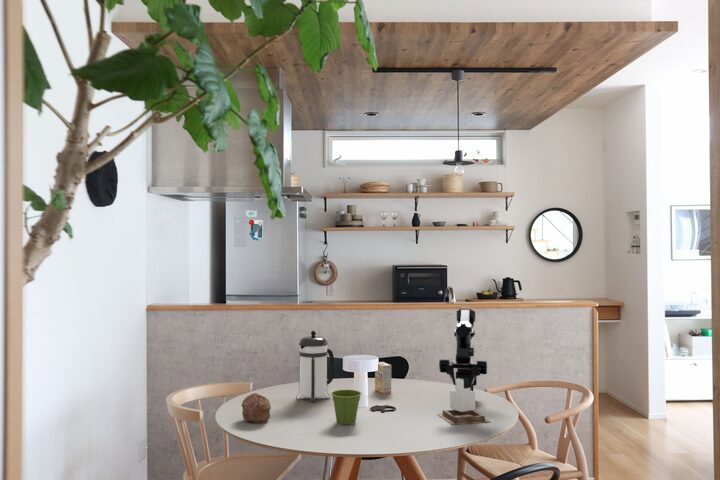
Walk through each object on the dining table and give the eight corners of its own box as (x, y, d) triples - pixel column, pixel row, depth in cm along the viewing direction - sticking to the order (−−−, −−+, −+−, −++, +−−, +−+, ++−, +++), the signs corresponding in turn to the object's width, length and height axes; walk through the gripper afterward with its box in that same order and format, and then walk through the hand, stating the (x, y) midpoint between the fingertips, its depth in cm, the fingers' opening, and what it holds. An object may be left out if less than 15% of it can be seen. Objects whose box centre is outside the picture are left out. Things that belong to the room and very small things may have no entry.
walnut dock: (473, 413, 257) (473, 406, 257) (491, 423, 242) (491, 416, 242) (436, 415, 253) (436, 409, 253) (452, 426, 238) (452, 419, 238)
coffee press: (331, 403, 271) (331, 333, 271) (294, 402, 271) (294, 333, 271) (333, 393, 288) (334, 328, 288) (298, 393, 288) (299, 327, 289)
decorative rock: (239, 417, 248) (239, 392, 248) (267, 414, 252) (267, 389, 252) (245, 426, 236) (245, 399, 236) (274, 423, 240) (274, 397, 240)
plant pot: (324, 424, 239) (324, 394, 239) (340, 416, 249) (340, 388, 249) (352, 428, 233) (352, 397, 233) (367, 420, 244) (367, 391, 244)
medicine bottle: (463, 405, 253) (463, 375, 253) (475, 409, 246) (475, 379, 246) (449, 408, 249) (449, 377, 249) (461, 412, 243) (461, 381, 243)
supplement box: (374, 390, 295) (374, 362, 295) (383, 389, 297) (383, 361, 297) (382, 394, 288) (382, 365, 288) (391, 393, 290) (391, 364, 290)
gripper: (439, 339, 253) (437, 372, 243) (486, 340, 250) (486, 374, 239) (440, 355, 261) (438, 388, 250) (486, 357, 258) (486, 390, 247)
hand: (462, 384), depth 246 cm, fingers closed on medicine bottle, 6 cm apart
